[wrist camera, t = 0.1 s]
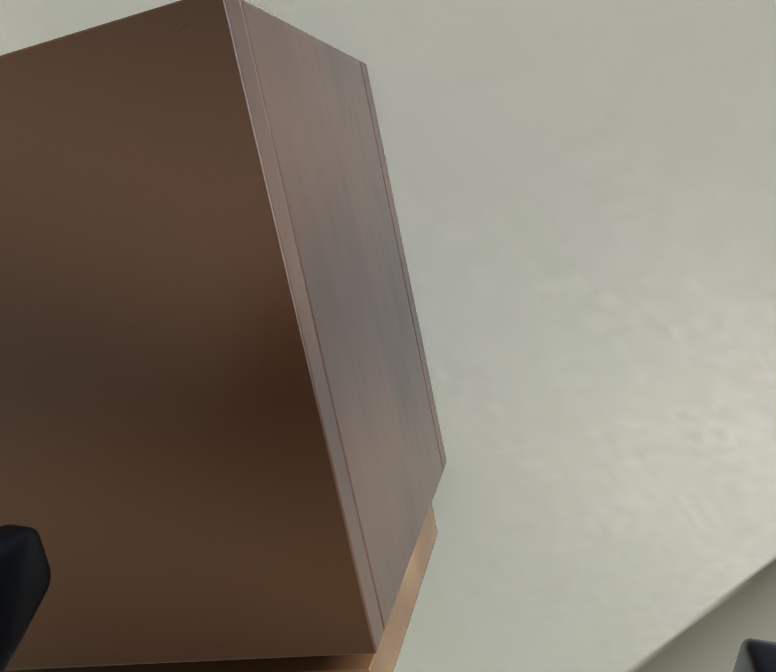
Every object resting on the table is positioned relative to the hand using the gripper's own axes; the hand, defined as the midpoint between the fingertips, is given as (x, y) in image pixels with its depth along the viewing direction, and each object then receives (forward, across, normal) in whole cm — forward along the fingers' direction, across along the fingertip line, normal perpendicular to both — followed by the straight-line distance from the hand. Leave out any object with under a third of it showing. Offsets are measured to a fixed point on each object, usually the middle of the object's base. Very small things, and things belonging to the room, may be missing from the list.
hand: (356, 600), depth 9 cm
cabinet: (+16, +9, +4) cm, 18 cm away
